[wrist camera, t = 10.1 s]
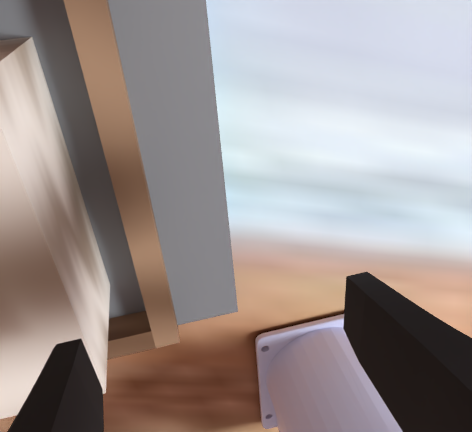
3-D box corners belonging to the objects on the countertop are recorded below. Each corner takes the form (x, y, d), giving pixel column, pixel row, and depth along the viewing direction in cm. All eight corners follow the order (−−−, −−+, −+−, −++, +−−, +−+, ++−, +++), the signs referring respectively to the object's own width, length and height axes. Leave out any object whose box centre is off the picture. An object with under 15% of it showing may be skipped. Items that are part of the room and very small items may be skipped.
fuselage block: (110, 284, 20) (105, 393, 15) (21, 303, 19) (-14, 422, 14) (31, 36, 14) (-19, 76, 9) (-99, 51, 13) (-233, 102, 8)
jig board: (233, 299, 23) (244, 331, 21) (-74, 367, 21) (-97, 412, 19) (190, -99, 14) (202, -110, 12) (-384, -59, 11) (-498, -65, 9)
